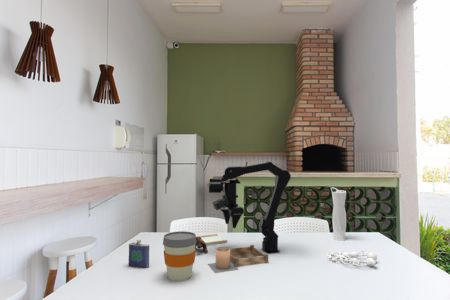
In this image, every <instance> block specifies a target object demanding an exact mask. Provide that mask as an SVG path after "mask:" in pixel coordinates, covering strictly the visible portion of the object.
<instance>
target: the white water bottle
mask: <svg viewBox="0 0 450 300" xmlns="http://www.w3.org/2000/svg"><path fill="white" fill-rule="evenodd" d="M333 190H335V191H333ZM330 191H331V195H332V197H331V198H332V204H333V209H332V216H331V217H332V218H331V219H332V221H331V222H332V232H333V239H334V241H342V242H345V241H346V239H345V237H346V229H347V213H346V207H345V204H346V199H347V191H346V190H344V189H343V190H341V189H338V188H337V187H330Z"/></svg>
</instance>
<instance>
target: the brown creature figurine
mask: <svg viewBox="0 0 450 300" xmlns="http://www.w3.org/2000/svg"><path fill="white" fill-rule="evenodd" d="M196 242H197V243H196V244H195V249H196V251H197V249H202V250H203V251H204V252H205V254H208V253H209V251H208V246H206V244H205V242H204V241H203V240H202V239H201V237H196ZM197 252H198V251H197Z"/></svg>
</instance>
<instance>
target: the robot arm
mask: <svg viewBox="0 0 450 300" xmlns="http://www.w3.org/2000/svg"><path fill="white" fill-rule="evenodd" d="M264 171H268V172H270V173H271V174H272V175H274V176H275V177H274V189H273V191H272V194H271V195H272V196H271V197H270V202H269V204H268V207H267V210H266V213H265V215H264V217H263V216H260V221H259V223H258V226H259V227H258V228H259V231H260V233H261V234H262V235H263V236H264V237H262V242H261V243H262V244H261V246H262V248H261V251H263V252H264V253H265V254H268V255H269V254H275V253H280V250H279V235H278V234H277V232H276V231H275V218H276V215H277V212H278V208H279V205H280V202H281V198H282V195H283V192H284V190H285V188H286V187H287V185H288V184H289V183H290V180H291V178H292V176H291V174H290V171H288V170H287V169H286V170H285V169H282V168H281V167H279V166H277V165H276V164H274V163H273V162H271V161H266V162H261V163H260V162H259V163H255V164H250V165H243V166H227V167H226V168H224V174H223V175H222V176H221V178H209V181H208V182H209V185H208V193H209V194H221V193H222V192H224V194H223V195H222V198H220V199H217V200H214V201H213V202H212V206H213V208H214V210H216V211H220V212H222V213H223V214H222V215H223V218H224V222H225V224H226V225H228V224H229V222H230V220H231V225H232V229H236V227H237V225H238V223H239V222H240V219H241V218H242V216H243V214H245V208H244V207H242V206H239V204H238V203H237V198H239V195H238V194H237V184H239V185H240V184H241V181H240V180H239V179H238V177H241V176H243V175H247V174H252V173H257V172H264Z"/></svg>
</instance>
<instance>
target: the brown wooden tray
mask: <svg viewBox="0 0 450 300" xmlns="http://www.w3.org/2000/svg"><path fill="white" fill-rule="evenodd" d="M230 262H231V263H232V264H234V266H235V267H237V268H239V267H246V266H252V265H260V264H268V263H269V254H268V253H263V252H262V251H261V250H259V249H257V248H256V247H255V245H254V244H250V245H249V246H243V247H235V248H230Z"/></svg>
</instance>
